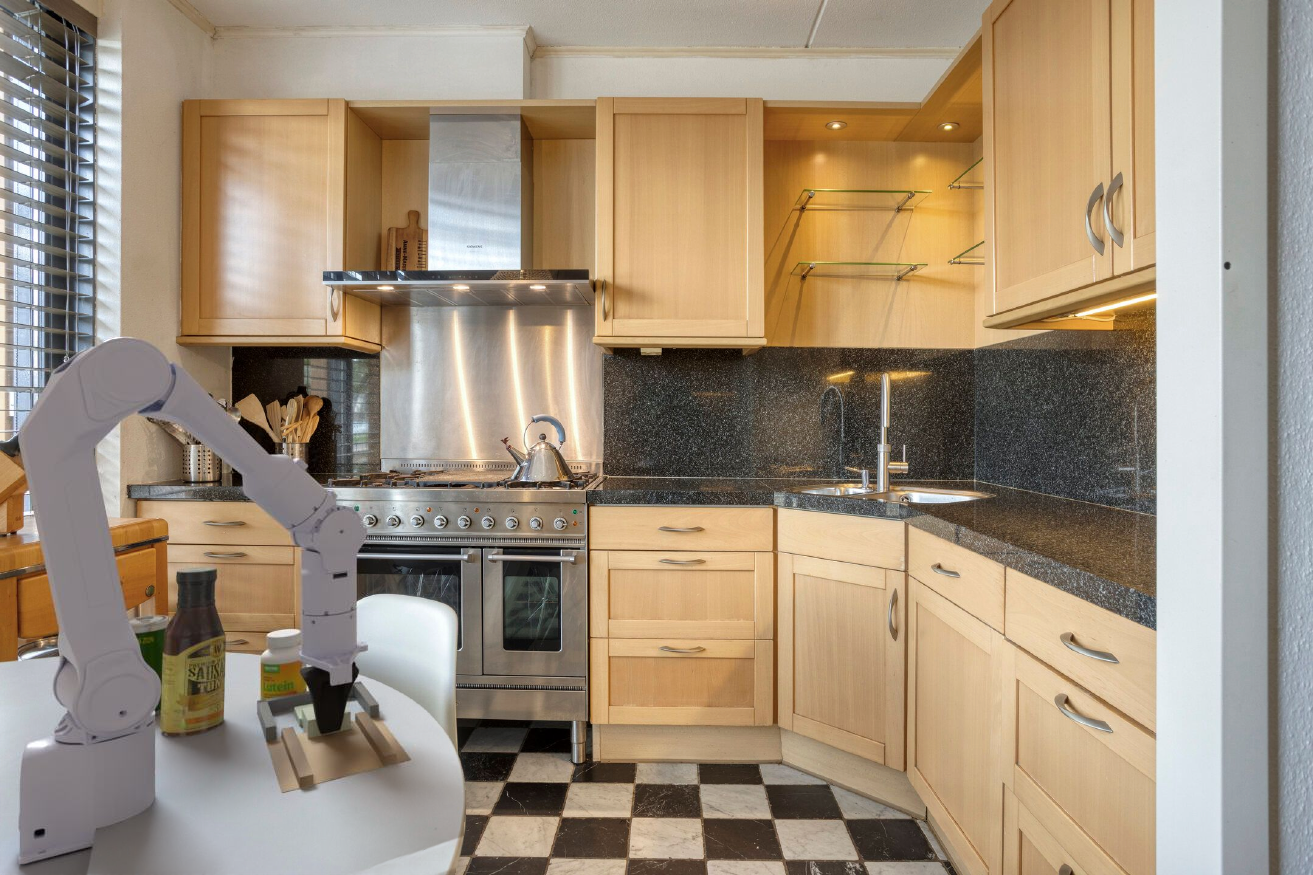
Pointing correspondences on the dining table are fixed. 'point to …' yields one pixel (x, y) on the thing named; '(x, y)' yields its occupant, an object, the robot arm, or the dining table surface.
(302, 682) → the supplement bottle
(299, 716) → the tile far
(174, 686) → the sauce bottle
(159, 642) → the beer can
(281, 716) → the dining table surface
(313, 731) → the tile near
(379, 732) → the board
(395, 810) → the dining table surface
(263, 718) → the box
